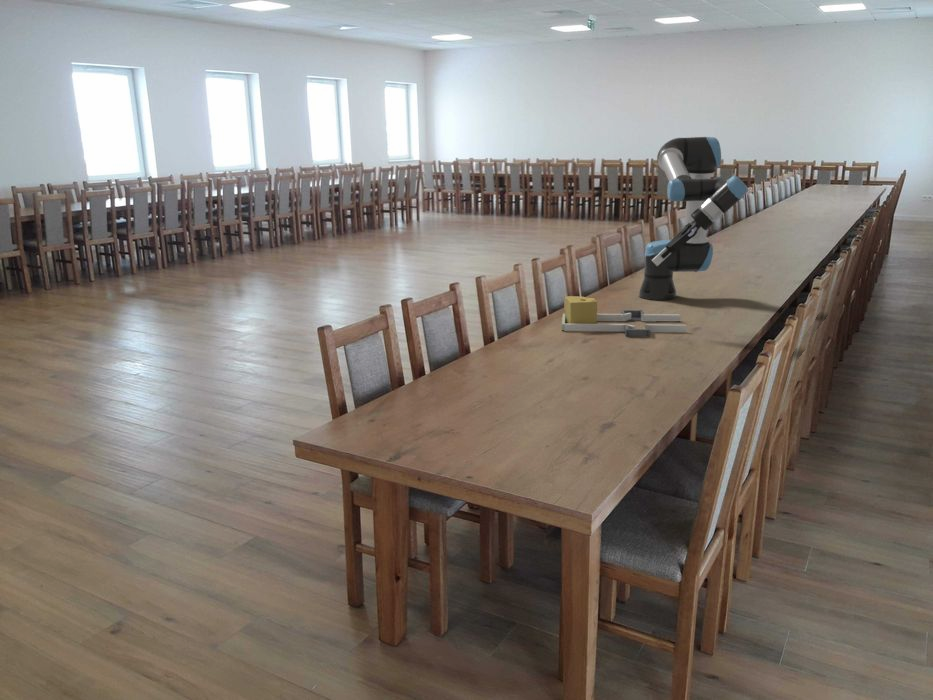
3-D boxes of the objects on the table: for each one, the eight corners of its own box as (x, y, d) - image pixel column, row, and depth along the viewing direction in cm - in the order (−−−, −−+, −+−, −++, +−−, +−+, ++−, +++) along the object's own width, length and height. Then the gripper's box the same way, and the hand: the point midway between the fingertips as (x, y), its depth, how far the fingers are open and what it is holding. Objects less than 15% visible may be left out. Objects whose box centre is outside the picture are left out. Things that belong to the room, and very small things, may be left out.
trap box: (562, 315, 290) (563, 309, 289) (677, 316, 284) (678, 310, 283) (561, 335, 262) (561, 328, 262) (688, 337, 256) (689, 330, 255)
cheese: (591, 321, 281) (592, 295, 278) (597, 328, 271) (598, 301, 268) (563, 322, 281) (564, 296, 278) (569, 329, 270) (569, 302, 267)
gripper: (717, 225, 252) (663, 274, 259) (711, 220, 264) (660, 267, 272) (701, 209, 251) (648, 259, 259) (696, 205, 264) (645, 252, 271)
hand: (654, 263), depth 265 cm, fingers closed
